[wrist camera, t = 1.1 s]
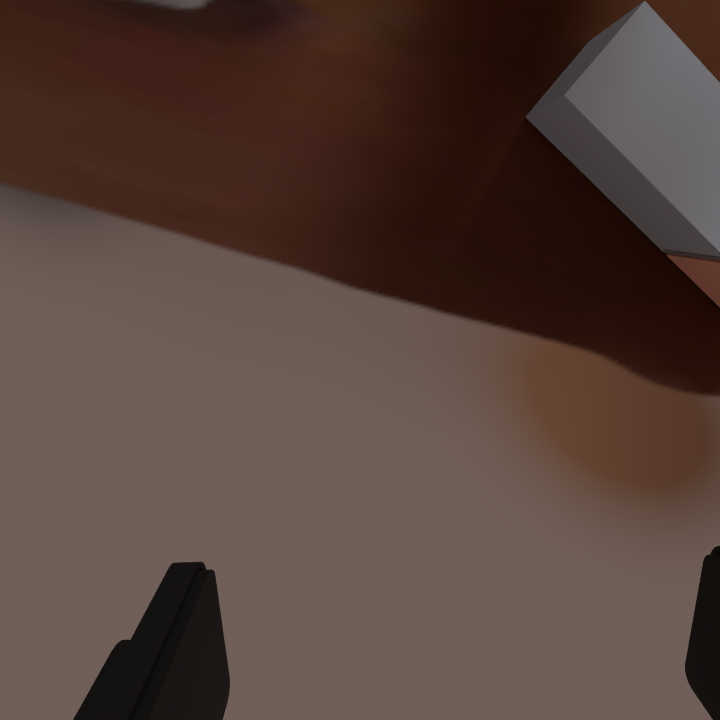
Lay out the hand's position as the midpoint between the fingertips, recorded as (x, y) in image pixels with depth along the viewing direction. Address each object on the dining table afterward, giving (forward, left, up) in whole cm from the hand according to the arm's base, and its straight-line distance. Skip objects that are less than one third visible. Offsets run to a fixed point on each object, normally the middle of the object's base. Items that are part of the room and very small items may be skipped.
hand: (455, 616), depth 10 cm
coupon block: (-17, +4, -25) cm, 30 cm away
